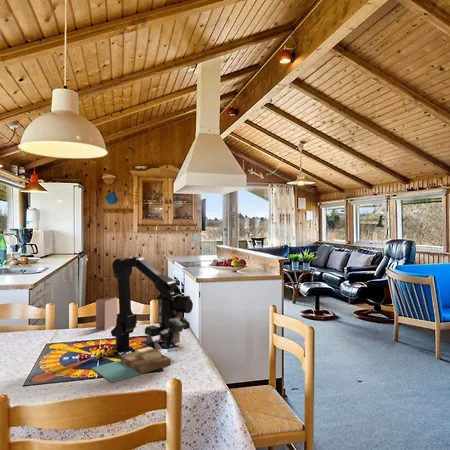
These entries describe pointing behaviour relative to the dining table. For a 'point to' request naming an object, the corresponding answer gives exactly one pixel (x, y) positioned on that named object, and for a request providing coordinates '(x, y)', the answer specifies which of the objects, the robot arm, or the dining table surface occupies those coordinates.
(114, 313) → the greeting card
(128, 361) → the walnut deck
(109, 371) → the teal mat
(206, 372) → the dining table surface
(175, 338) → the coffee box
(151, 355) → the birch tile
